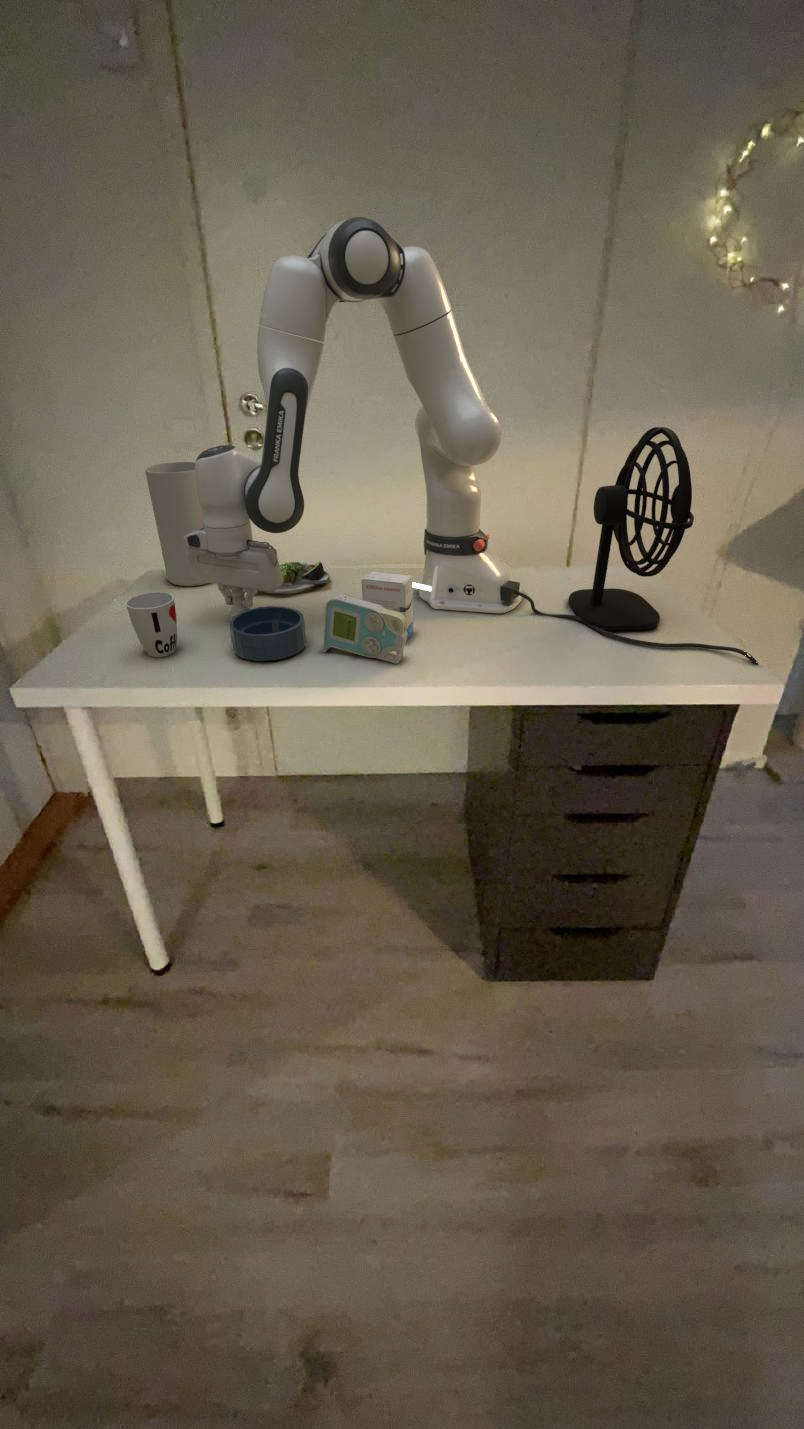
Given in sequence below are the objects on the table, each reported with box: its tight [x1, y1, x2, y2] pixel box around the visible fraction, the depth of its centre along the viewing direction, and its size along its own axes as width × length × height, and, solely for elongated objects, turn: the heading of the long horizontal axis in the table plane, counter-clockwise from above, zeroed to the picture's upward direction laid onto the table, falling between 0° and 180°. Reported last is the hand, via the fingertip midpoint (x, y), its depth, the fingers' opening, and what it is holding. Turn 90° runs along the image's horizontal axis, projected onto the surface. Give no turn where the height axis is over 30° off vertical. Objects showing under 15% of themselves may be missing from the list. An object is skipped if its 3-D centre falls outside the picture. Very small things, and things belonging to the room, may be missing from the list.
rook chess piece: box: [228, 586, 251, 620], centre depth 131 cm, size 4×4×8 cm
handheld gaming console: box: [322, 594, 408, 664], centre depth 116 cm, size 11×3×15 cm
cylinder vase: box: [144, 461, 211, 587], centre depth 148 cm, size 12×12×25 cm
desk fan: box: [568, 426, 695, 631], centre depth 124 cm, size 27×18×35 cm, turn 3°
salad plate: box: [258, 561, 332, 595], centre depth 149 cm, size 19×18×5 cm
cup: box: [125, 591, 178, 658], centre depth 118 cm, size 8×8×10 cm
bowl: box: [228, 605, 307, 662], centre depth 120 cm, size 13×13×6 cm
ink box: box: [361, 571, 414, 641], centre depth 123 cm, size 8×5×12 cm, turn 71°
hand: (239, 605), depth 132 cm, fingers closed on rook chess piece, 3 cm apart
